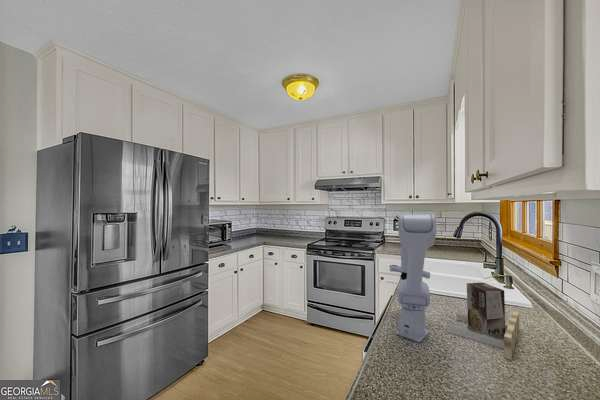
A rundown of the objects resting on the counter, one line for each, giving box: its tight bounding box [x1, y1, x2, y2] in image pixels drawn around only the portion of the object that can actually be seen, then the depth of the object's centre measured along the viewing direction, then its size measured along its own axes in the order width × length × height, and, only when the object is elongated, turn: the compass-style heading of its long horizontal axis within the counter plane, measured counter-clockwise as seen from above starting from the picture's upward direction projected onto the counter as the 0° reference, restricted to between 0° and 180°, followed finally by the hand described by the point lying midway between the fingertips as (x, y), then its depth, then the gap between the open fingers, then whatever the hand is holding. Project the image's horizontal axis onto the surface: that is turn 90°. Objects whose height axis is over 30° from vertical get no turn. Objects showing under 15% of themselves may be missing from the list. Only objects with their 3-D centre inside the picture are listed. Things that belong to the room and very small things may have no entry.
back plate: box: [503, 310, 520, 361], centre depth 80 cm, size 24×2×6 cm, turn 135°
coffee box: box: [466, 282, 506, 339], centre depth 85 cm, size 9×6×16 cm
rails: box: [446, 312, 508, 350], centre depth 86 cm, size 13×16×2 cm
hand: (409, 292), depth 98 cm, fingers closed
